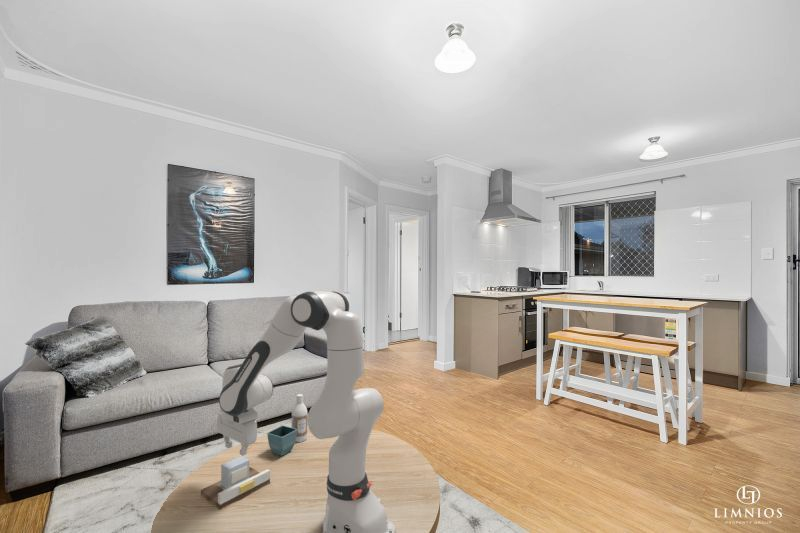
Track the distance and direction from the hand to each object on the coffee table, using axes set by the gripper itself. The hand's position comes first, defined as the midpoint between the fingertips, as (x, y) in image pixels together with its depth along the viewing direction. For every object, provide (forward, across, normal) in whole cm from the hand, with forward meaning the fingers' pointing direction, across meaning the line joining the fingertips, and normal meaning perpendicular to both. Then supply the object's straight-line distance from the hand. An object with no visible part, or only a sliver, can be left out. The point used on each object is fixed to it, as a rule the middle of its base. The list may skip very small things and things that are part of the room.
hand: (235, 450), depth 126 cm
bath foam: (+13, -13, +37) cm, 41 cm away
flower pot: (+13, -9, +25) cm, 30 cm away
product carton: (+11, -1, 0) cm, 11 cm away
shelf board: (+13, 0, 0) cm, 13 cm away
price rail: (+12, +6, 0) cm, 13 cm away
